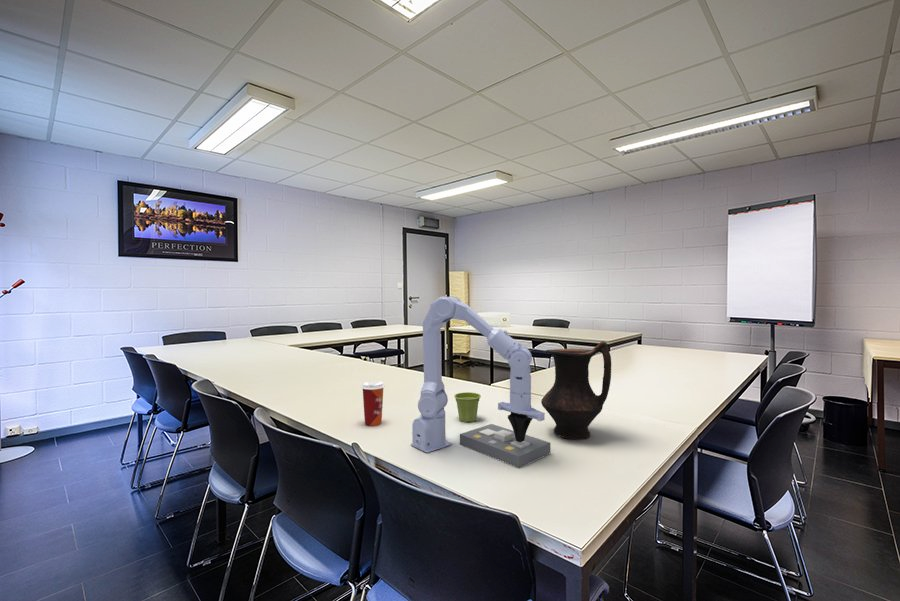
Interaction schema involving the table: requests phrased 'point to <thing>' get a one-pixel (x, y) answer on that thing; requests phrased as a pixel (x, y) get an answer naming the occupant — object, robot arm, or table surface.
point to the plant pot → (467, 406)
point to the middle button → (503, 436)
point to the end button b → (520, 444)
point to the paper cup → (373, 402)
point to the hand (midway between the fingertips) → (520, 440)
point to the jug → (576, 391)
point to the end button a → (487, 432)
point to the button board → (505, 446)
